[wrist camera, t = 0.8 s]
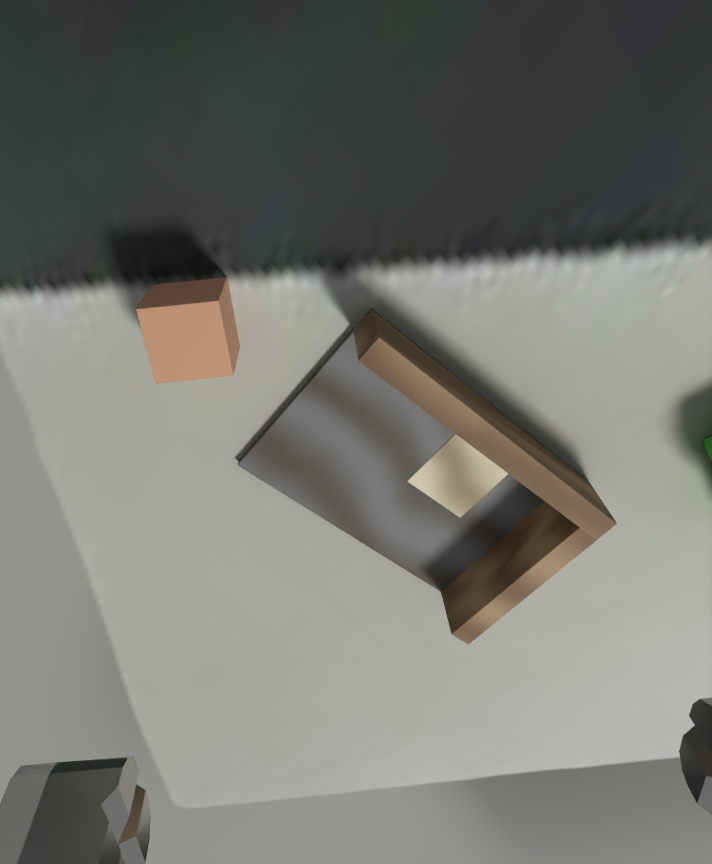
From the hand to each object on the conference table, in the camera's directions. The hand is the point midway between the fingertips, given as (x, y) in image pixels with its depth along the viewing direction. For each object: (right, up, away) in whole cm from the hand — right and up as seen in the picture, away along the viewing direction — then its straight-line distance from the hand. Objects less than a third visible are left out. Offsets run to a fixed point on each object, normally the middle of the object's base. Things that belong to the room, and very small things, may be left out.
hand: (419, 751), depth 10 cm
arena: (+4, +1, +43) cm, 43 cm away
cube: (-12, +13, +35) cm, 39 cm away
